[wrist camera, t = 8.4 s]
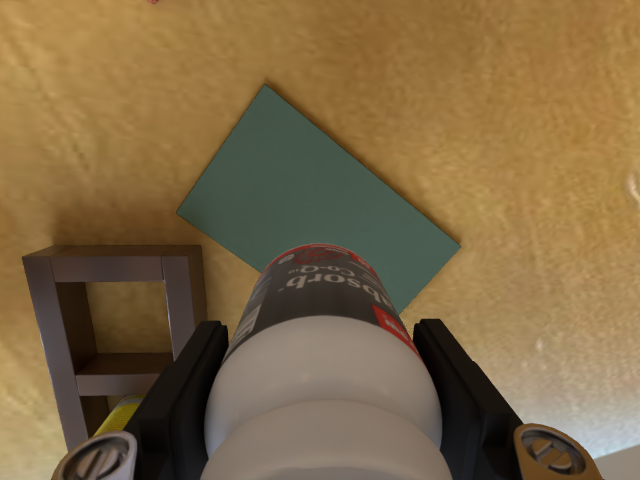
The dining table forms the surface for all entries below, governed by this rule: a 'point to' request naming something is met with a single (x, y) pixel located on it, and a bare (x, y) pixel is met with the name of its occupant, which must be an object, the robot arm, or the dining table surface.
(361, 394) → the pill bottle
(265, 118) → the mat
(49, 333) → the rack
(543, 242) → the dining table surface
